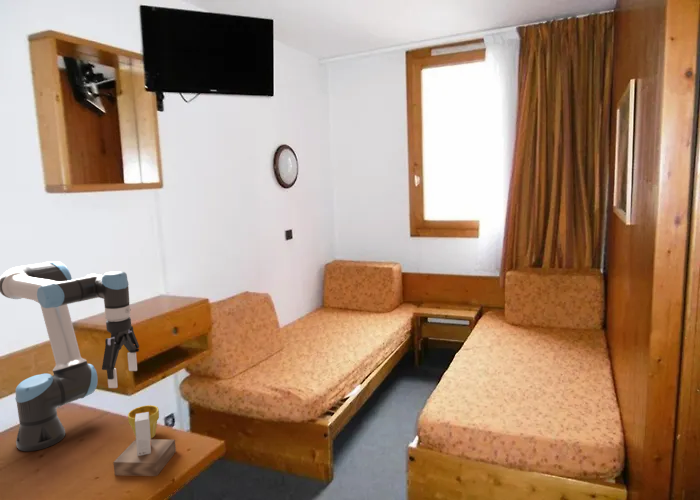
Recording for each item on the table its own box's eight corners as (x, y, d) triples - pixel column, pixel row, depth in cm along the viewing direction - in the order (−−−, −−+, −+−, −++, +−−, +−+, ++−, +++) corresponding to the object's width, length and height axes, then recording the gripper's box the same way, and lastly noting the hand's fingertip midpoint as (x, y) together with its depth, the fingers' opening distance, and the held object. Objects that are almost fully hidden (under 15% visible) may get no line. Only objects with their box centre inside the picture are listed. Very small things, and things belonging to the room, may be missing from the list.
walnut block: (114, 476, 158) (113, 462, 157) (137, 452, 172) (135, 439, 171) (157, 477, 157) (155, 462, 156) (176, 453, 171) (174, 439, 170)
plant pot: (150, 445, 175) (147, 419, 174) (124, 443, 177) (121, 417, 176) (166, 430, 185) (164, 405, 184) (141, 428, 188) (139, 404, 186)
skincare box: (151, 454, 161) (148, 419, 160) (137, 456, 160) (134, 421, 158) (151, 444, 167) (149, 411, 165) (137, 447, 166) (135, 413, 164)
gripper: (109, 330, 152) (115, 395, 155) (146, 307, 176) (150, 364, 180) (85, 330, 152) (92, 395, 156) (125, 307, 177) (130, 364, 180)
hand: (123, 378), depth 168 cm, fingers open, 13 cm apart
